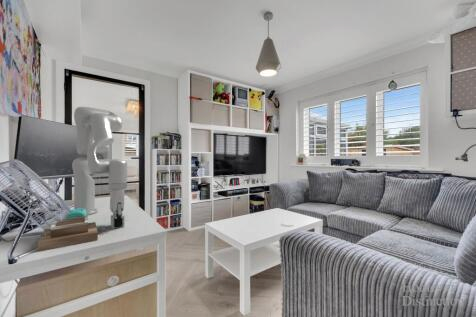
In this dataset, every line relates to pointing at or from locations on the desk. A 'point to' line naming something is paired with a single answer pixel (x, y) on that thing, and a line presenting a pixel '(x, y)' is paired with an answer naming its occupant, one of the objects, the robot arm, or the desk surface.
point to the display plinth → (67, 239)
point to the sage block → (113, 221)
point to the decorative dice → (76, 213)
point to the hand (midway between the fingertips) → (117, 224)
